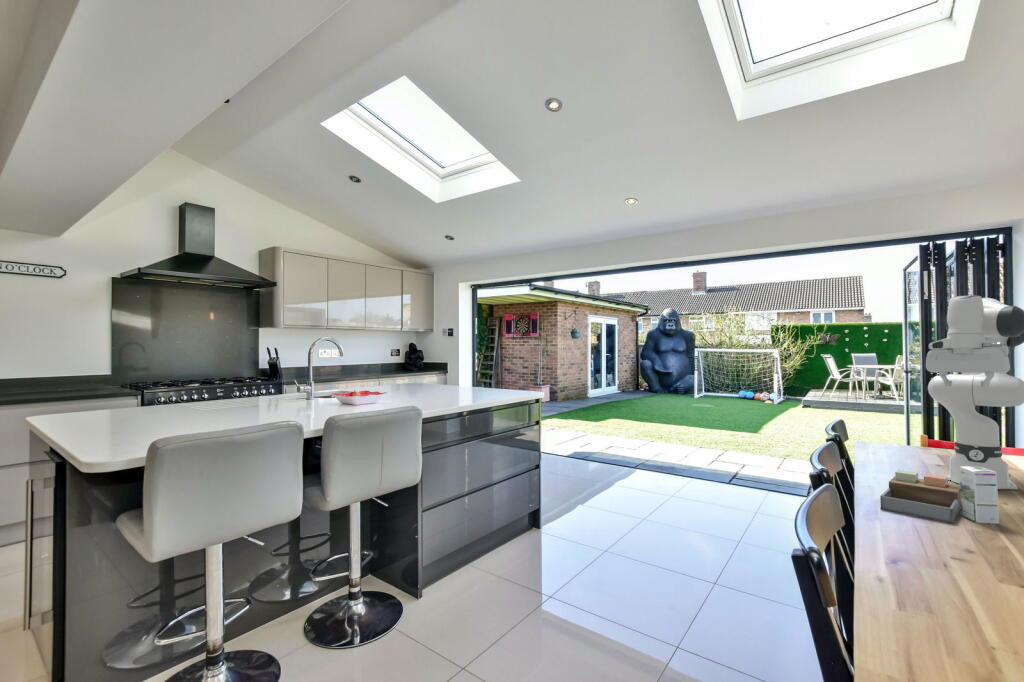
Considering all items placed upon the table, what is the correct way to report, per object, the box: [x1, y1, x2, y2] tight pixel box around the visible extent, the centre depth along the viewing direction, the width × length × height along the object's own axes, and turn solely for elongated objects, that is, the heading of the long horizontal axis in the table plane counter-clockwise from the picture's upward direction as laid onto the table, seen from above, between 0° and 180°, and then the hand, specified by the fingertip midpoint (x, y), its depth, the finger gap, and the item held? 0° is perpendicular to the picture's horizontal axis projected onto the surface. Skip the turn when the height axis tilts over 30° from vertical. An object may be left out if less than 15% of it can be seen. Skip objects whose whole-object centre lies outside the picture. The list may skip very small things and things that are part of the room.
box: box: [880, 487, 959, 524], centre depth 139 cm, size 12×16×4 cm
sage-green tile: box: [894, 469, 919, 483], centre depth 152 cm, size 5×5×2 cm
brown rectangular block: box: [888, 476, 961, 513], centre depth 147 cm, size 12×16×6 cm
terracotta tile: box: [923, 473, 949, 488], centre depth 146 cm, size 5×5×2 cm
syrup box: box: [959, 466, 1000, 525], centre depth 132 cm, size 6×6×14 cm
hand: (965, 386), depth 151 cm, fingers open, 8 cm apart
